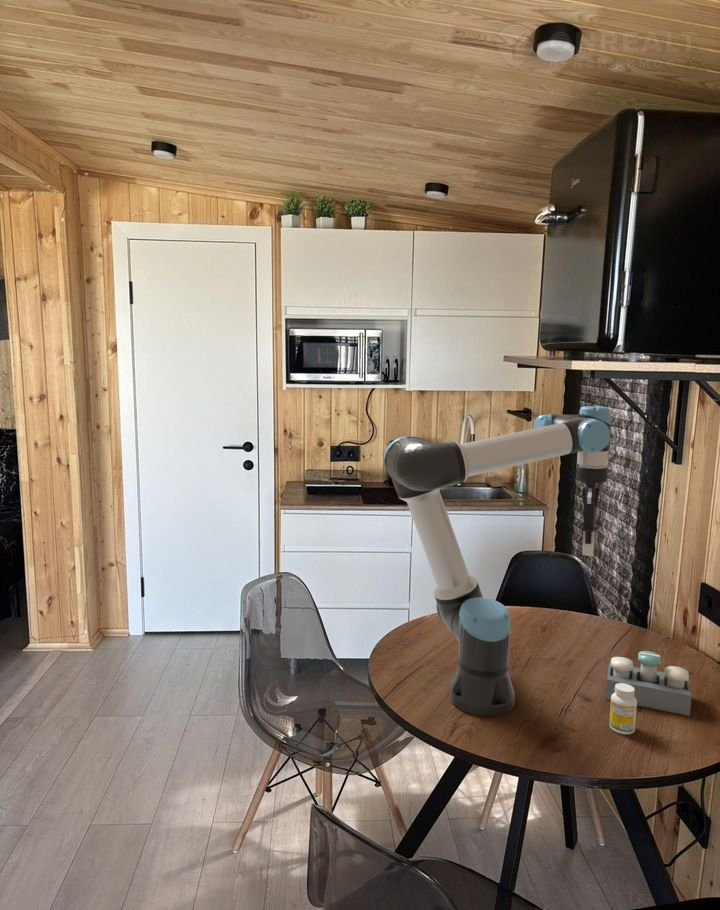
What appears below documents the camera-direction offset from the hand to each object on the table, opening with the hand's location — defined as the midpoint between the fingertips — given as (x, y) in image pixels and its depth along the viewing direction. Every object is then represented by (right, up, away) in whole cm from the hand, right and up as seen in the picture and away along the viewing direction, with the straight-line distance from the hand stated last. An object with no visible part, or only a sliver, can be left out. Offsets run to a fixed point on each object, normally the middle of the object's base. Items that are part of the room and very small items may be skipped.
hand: (587, 554), depth 167 cm
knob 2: (+15, -31, -16) cm, 38 cm away
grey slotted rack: (+9, -32, -13) cm, 36 cm away
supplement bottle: (-2, -34, -27) cm, 44 cm away
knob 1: (+4, -30, -11) cm, 33 cm away
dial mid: (+9, -28, -14) cm, 33 cm away
